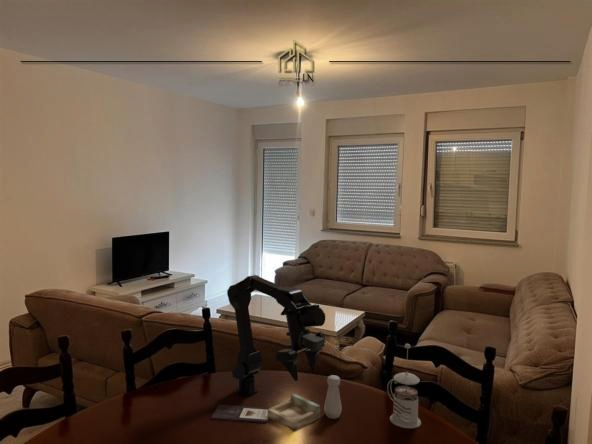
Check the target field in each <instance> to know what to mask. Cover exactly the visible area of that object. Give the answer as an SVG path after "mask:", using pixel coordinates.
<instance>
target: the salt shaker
mask: <svg viewBox="0 0 592 444" xmlns="http://www.w3.org/2000/svg"><path fill="white" fill-rule="evenodd" d="M326 383H327V385H328V387H327V391H326V397H325V400H324V407H323V410H324V414H325V416H326V417H327V418H328V419H333V420H336V419H338V418H339V417H340V416H341V414H342V401H341V397H340V396H341V395H340V390H339V386H340V385H341V377H339V376H338V375H333V374H331V375H329V376H328V377H327V379H326Z"/></svg>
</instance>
